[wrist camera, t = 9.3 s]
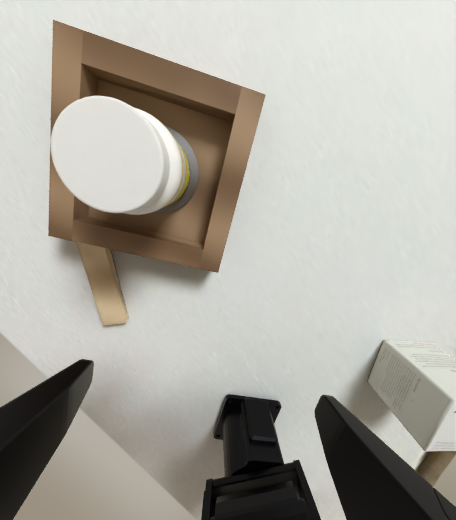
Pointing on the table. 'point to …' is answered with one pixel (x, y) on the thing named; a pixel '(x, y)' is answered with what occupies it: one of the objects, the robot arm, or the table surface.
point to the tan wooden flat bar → (104, 283)
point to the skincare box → (419, 390)
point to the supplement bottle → (118, 157)
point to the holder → (182, 129)
